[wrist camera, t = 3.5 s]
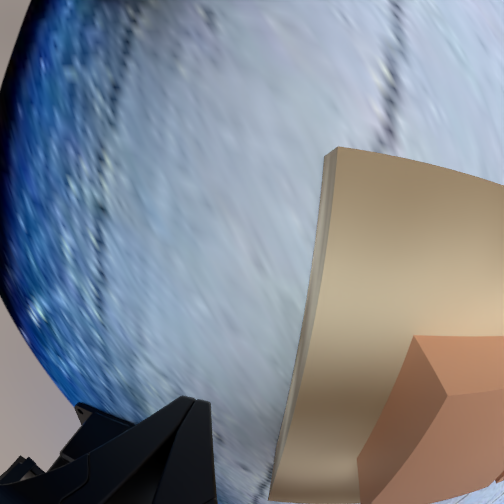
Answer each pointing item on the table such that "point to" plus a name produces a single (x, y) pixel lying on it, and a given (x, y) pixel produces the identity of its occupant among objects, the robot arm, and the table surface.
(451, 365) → the tile
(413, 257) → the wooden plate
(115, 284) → the table surface
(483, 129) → the table surface
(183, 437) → the robot arm
